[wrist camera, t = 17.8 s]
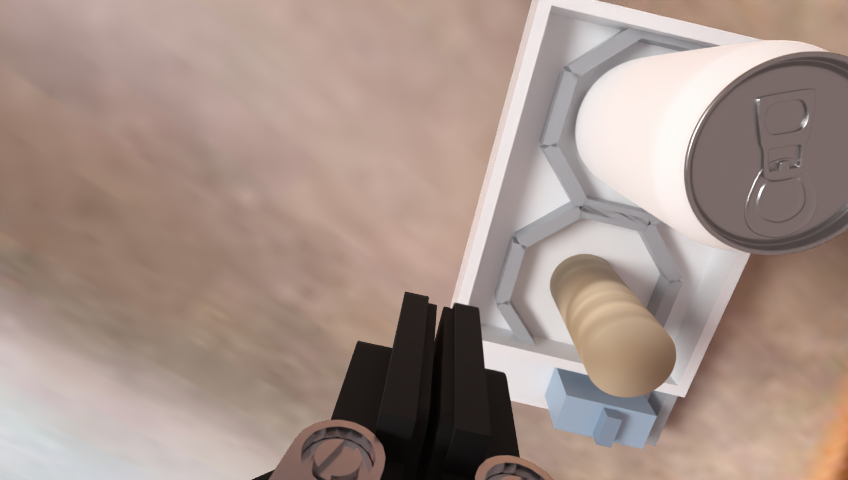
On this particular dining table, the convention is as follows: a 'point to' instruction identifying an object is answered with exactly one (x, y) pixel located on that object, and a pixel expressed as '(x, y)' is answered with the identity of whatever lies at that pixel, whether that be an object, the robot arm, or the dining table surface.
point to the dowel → (611, 328)
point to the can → (727, 142)
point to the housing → (581, 208)
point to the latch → (597, 411)
